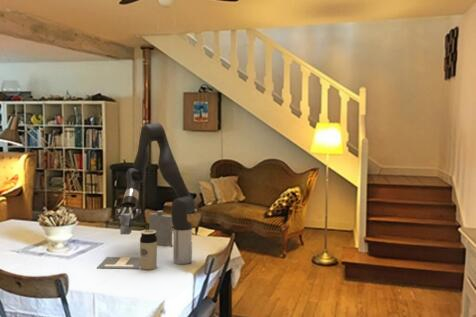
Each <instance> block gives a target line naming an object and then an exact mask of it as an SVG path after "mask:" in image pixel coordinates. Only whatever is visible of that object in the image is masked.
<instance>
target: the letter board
mask: <svg viewBox="0 0 476 317" xmlns="http://www.w3.org/2000/svg"><path fill="white" fill-rule="evenodd" d="M139 268H140V256H139V257H135V256H134V257H131V256H130V257H128V256H127V257H125V256H106V258H105V259H104V260H103V261H102V262H101V263H100V264H99V265H98V266H96V269H97V270H98V269H99V270H100V269H103V270H104V269H106V270H108V269H109V270H113V269H114V270H138V269H139Z"/></svg>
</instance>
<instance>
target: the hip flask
mask: <svg viewBox="0 0 476 317" xmlns="http://www.w3.org/2000/svg"><path fill="white" fill-rule="evenodd" d="M163 213H164V210H157V211H156V212H154V213H153V212H150V213H149V215H148V216H149V227H148V228H149V229H148V230H155V231H156V234H155V235H156V237H157V246H160V247H167V246H171V247H172V246H173V223H172V215H169V214H168V215H167V214H163Z"/></svg>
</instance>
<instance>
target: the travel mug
mask: <svg viewBox="0 0 476 317" xmlns="http://www.w3.org/2000/svg"><path fill="white" fill-rule="evenodd" d="M140 234H141V236H140V238H139V258H140V267H139V268H140V269H141V270H145V271H150V270H154V269H156V268H157V266H158V265H157V264H158V260H157V258H158V245H157V237H156V235H155V234H156V231H155V230H149V229H143V230H141V231H140Z"/></svg>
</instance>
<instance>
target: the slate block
mask: <svg viewBox="0 0 476 317" xmlns="http://www.w3.org/2000/svg"><path fill="white" fill-rule="evenodd" d="M119 217H120V227H119V228H120V230H119V231H120V235H130V234H132V231H133V230H132V226H131V227H129V222H130V219H131V218H130V217H131V214H130V213H124V214H121V213H120V214H119Z"/></svg>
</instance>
